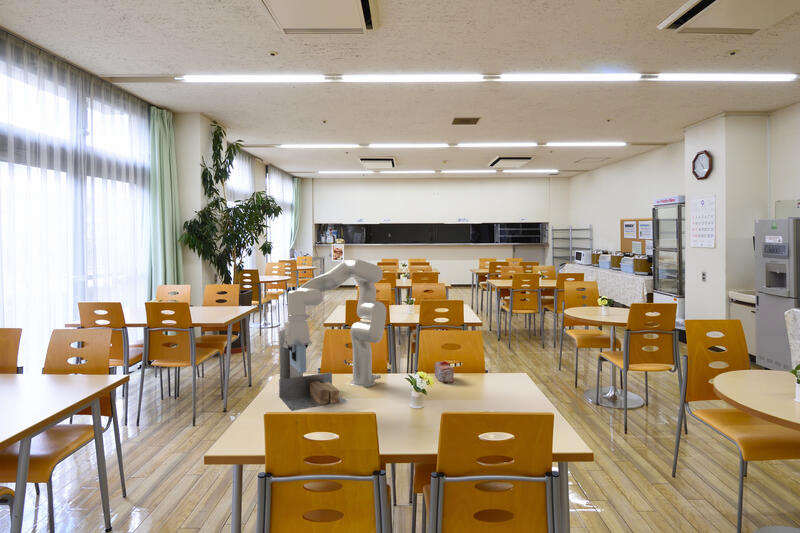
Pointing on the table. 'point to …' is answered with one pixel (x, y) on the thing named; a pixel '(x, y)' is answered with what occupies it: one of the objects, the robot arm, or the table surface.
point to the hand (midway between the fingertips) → (297, 359)
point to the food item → (444, 371)
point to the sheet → (299, 358)
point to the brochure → (286, 360)
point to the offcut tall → (319, 392)
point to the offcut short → (332, 392)
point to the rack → (302, 391)
